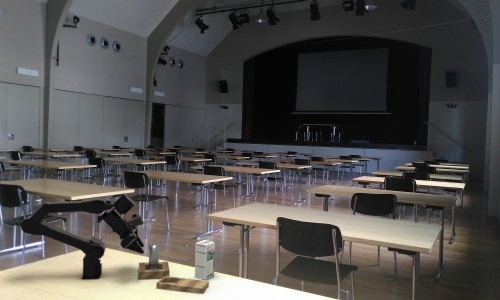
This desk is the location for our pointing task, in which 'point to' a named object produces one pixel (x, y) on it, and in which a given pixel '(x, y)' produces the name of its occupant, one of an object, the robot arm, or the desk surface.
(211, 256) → the syrup box
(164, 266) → the socket block
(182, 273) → the desk surface
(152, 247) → the axle
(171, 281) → the brown wooden board
